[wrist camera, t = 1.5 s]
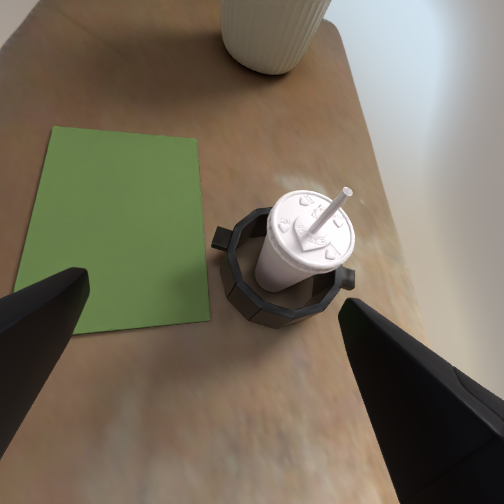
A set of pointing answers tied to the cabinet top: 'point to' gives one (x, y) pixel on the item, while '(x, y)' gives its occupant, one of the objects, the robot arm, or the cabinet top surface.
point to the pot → (248, 299)
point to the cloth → (122, 227)
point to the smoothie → (304, 239)
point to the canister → (270, 31)
